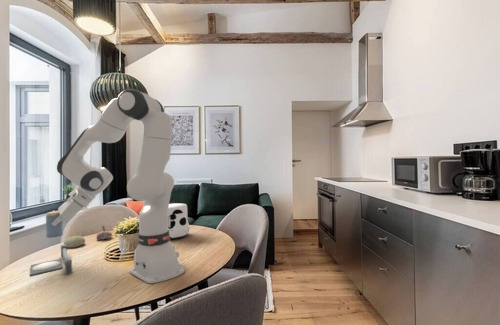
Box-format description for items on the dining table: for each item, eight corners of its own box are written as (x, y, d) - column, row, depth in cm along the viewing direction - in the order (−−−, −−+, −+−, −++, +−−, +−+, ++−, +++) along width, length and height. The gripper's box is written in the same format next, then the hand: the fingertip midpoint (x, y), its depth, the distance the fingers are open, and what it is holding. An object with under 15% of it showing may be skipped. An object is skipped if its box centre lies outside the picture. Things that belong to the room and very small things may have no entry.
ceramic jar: (62, 235, 105) (62, 212, 105) (46, 238, 102) (45, 214, 102) (62, 233, 109) (61, 210, 109) (46, 235, 106) (45, 212, 106)
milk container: (186, 231, 155) (186, 202, 154) (191, 238, 139) (191, 206, 139) (157, 234, 148) (156, 204, 148) (159, 243, 132) (158, 209, 132)
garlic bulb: (93, 241, 138) (93, 226, 138) (101, 237, 145) (101, 223, 145) (107, 241, 138) (107, 226, 138) (114, 237, 145) (114, 223, 145)
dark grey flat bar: (71, 273, 97) (71, 260, 97) (65, 274, 96) (65, 261, 96) (66, 254, 117) (66, 244, 117) (61, 256, 116) (60, 245, 116)
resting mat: (62, 268, 102) (62, 266, 102) (30, 276, 95) (29, 274, 95) (60, 260, 111) (60, 258, 111) (30, 266, 105) (30, 264, 105)
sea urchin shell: (69, 246, 124) (64, 233, 127) (65, 255, 127) (59, 242, 130) (89, 241, 132) (83, 229, 135) (84, 249, 135) (79, 237, 138)
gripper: (71, 191, 118) (45, 214, 112) (76, 195, 102) (45, 223, 96) (83, 199, 121) (58, 223, 114) (89, 205, 105) (60, 232, 99)
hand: (52, 223), depth 105 cm, fingers closed on ceramic jar, 5 cm apart
